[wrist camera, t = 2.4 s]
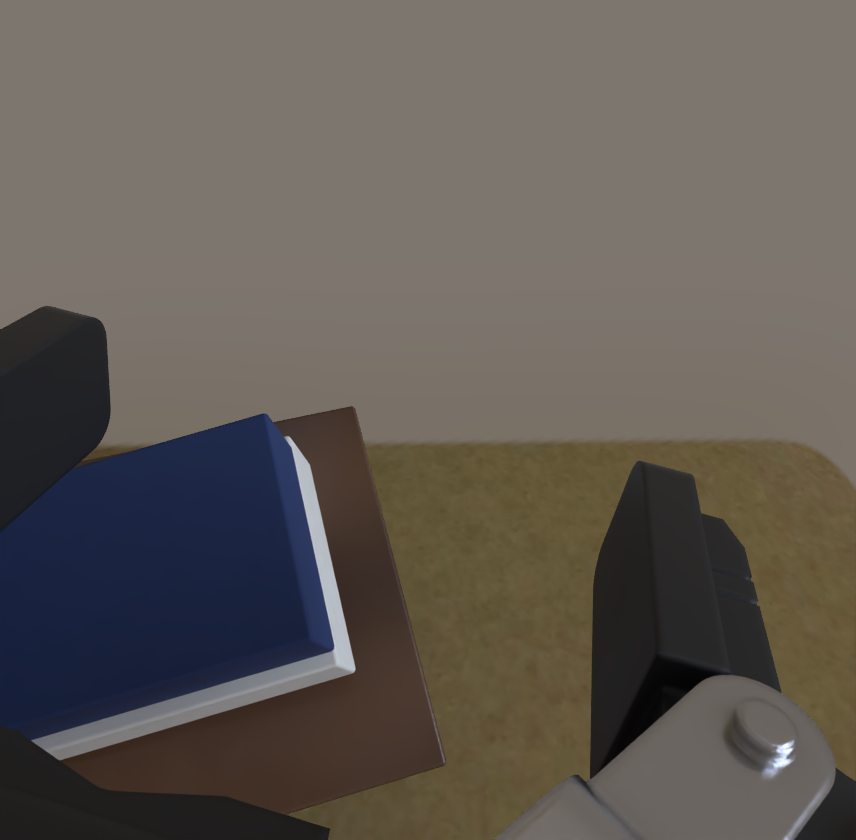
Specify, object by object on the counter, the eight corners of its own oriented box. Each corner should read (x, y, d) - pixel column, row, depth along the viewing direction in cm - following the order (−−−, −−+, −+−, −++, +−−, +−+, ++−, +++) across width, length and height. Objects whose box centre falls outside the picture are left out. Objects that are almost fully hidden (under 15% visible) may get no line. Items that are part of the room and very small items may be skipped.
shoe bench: (9, 620, 32) (-220, 521, 19) (353, 538, 34) (354, 404, 22) (21, 884, 28) (-257, 980, 15) (408, 766, 31) (447, 764, 18)
